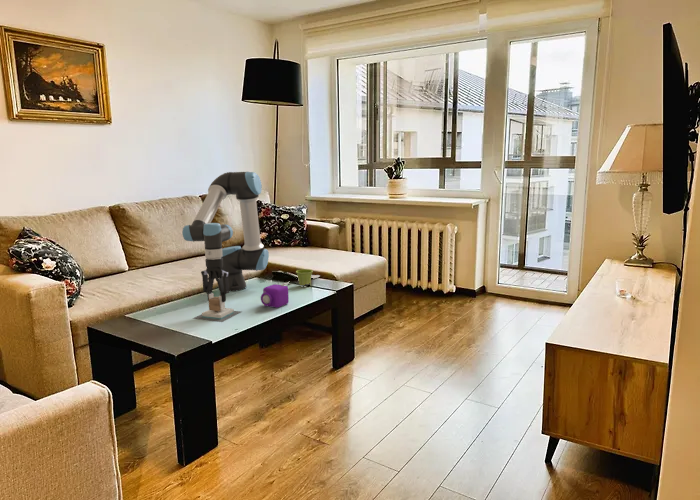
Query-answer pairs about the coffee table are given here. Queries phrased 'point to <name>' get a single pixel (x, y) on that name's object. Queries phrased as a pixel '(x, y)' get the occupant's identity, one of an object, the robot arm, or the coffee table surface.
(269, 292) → the toy camera
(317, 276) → the paint knife
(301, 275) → the plant pot
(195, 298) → the coffee table surface
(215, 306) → the block
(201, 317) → the mat
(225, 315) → the tile
